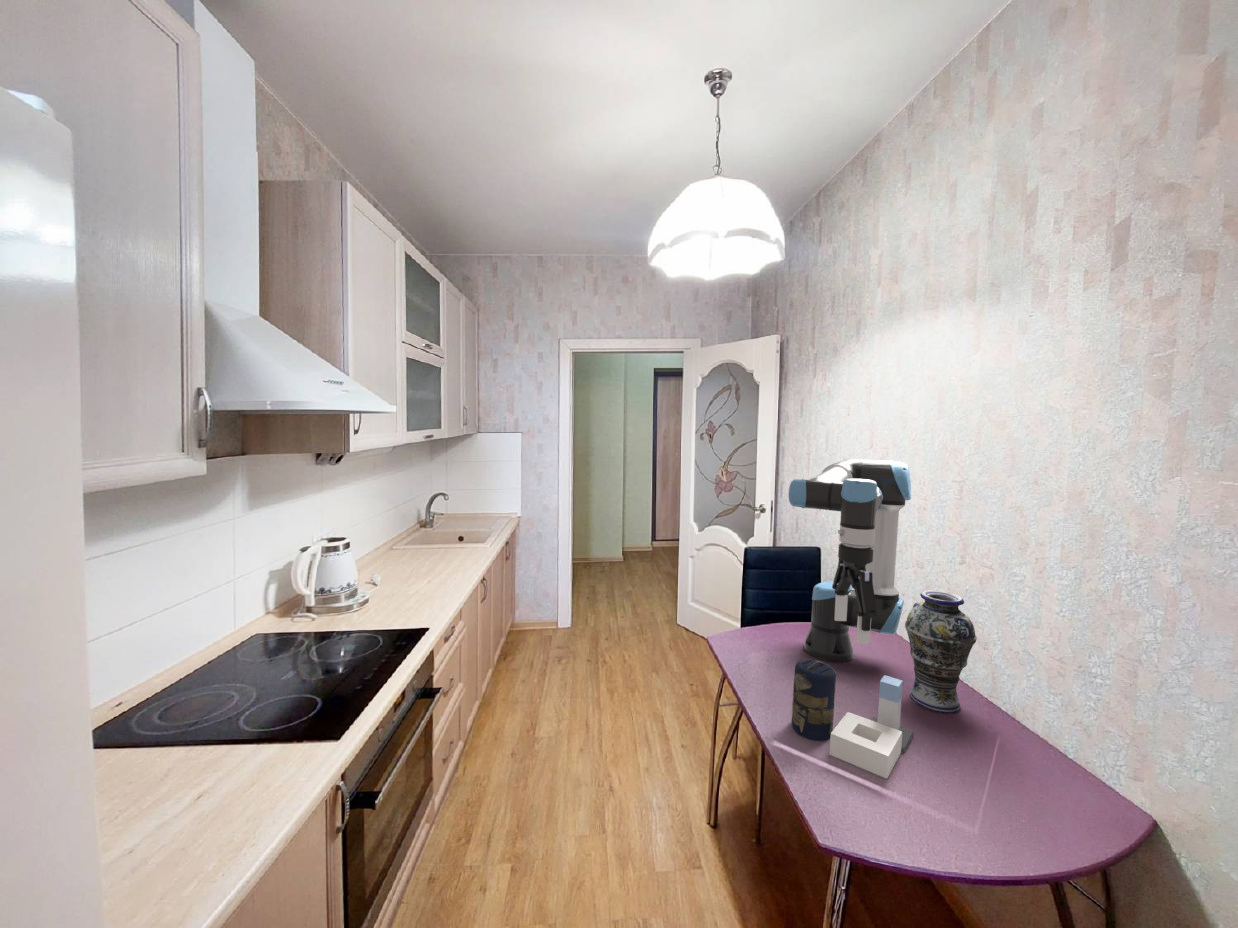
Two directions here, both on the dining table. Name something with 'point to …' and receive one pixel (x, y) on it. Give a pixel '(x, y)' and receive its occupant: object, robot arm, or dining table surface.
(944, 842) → the dining table surface
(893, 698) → the plug
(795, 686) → the canister
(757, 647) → the dining table surface
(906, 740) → the gray recessed square plate
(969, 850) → the dining table surface
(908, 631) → the vase
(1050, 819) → the dining table surface
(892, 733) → the block
